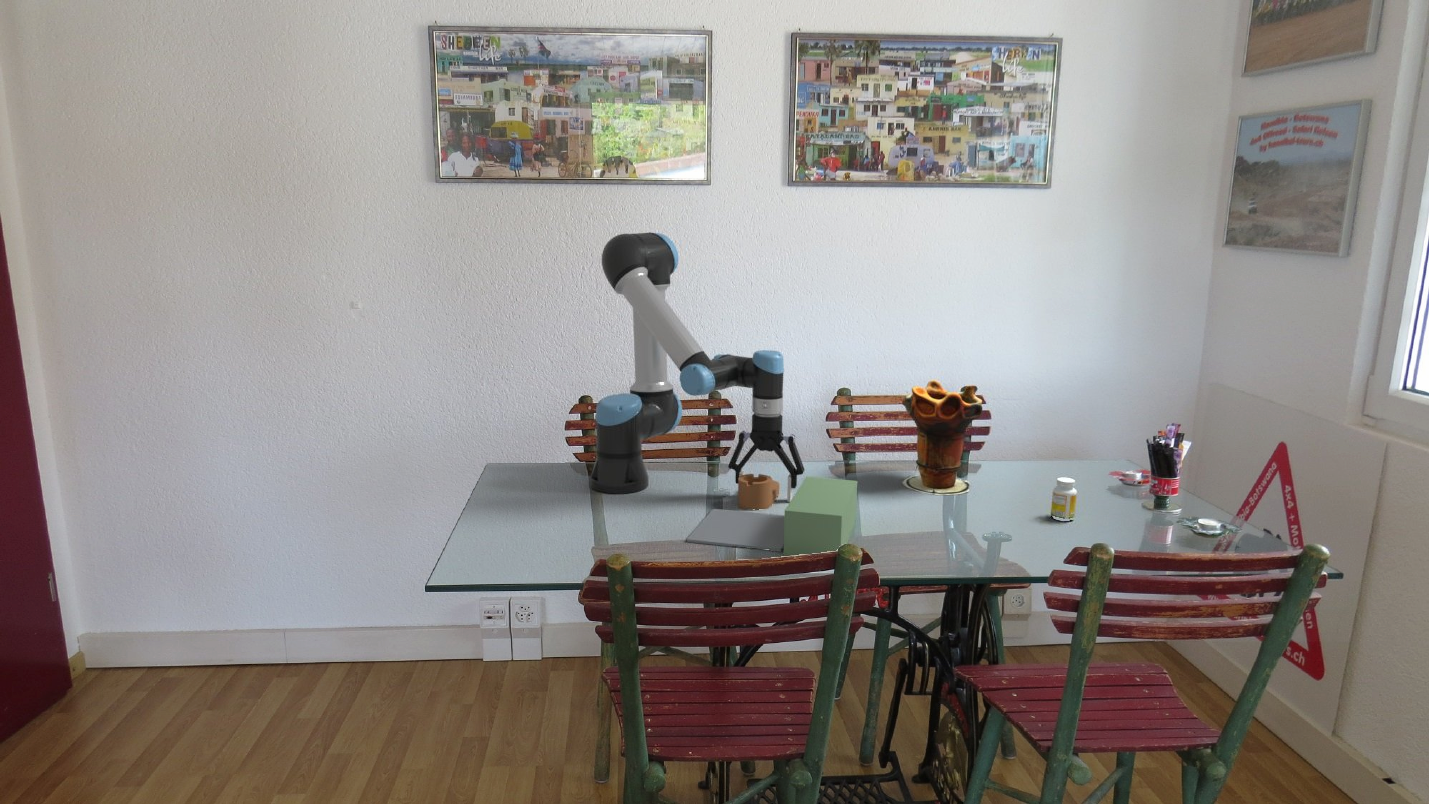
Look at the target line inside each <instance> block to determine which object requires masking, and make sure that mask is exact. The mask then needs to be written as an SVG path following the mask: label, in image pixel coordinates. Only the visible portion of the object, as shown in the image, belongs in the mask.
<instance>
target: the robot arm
mask: <svg viewBox="0 0 1429 804" xmlns="http://www.w3.org/2000/svg"><path fill="white" fill-rule="evenodd" d="M677 249H678V248H677V247H676V245H675V243H674V242H673V241H672V240H671V238H670V237H668V236H667V235H665V234H663V233H659V232H638V233H619V234H617V235H615V236H613V237H612V238H610V239H609V241H607V243H606V244H605V245H604V248H603V250H602V253H601V266H602V270H603V273H604V276H605V278H606V279H607V282H608V284H609V285H610V287H612V289H613V290H614V292H615V293H616V294H617V295H622V296H623V297H624V298H625V299H626V301H627V302H628V303H629V305H630V306H631V308H632V320H633V321H632V322H633V324H632V325H633V349H634V350H633V352H634V354H633V355H634V356H633V357H634V376H635V377H634V379H635V381H634V383H633V384H632V385H631V386H630V387H629V393H625V392H623V393H618V394H611V395H608V396H605V397H603V398H601V399H600V400H599V401H598V402H597V404H596V409H595V412H596V413H595V416H594V418H595V436H596V437H595V438H596V439H595V443H596V458H595V462H594V465H593V468H592V472H591V475H590V481H589V483H590V488H591V489H593V491H597V492H600V493H605V494H631V493H636V492H640V491H643V490H645V489H647V488H648V487H649V475H648V472H647V469H646V465H645V463H644V460H643V459H644V458H643V456H642V455H643V453H642V450H643V449H642V448H643V447H642V444H643V443H642V442H643V441H646V440H648V439H652V438H656V437H661V436H664V435H666V434H668V433H669V432H670V433H671V432H672V431H674V430H675V429H676V428H677V426H679V424H680V422H681V420H682V416H683V406H682V405H683V404H682V402H681V400H680V399H679V397H678V396H679V395H677V394H676V393H675V392H674V386H673V384H671V383H670V382H669V380H668V364H667V363H668V359H667V355H668V357H669V358H670V359H671V361H672V362H673V364H674V365H675V366H676V367H677V369H678V370H679V371H680V374H679V382H680V387H681V388H682V390H683V391H684V392H685V393H686V394H688V395H689V396H693V397H695V396H705V395H708V394H710V393H714V392H717V391H723V390H725V389H729V388H733V387H741V388H748V389H752V390H751V391H752V395H751V396H752V397H751V399H752V400H751V401H752V403H751V404H752V405H751V411H752V413H753V414H752V415H751V432H747V431H745V430H742V431H740V433H739V434H738V442H737V445H736V447H735V450H734V451H733V453H732V456H731V458H730V461H729V463H728V469H730V470H733V471H734V472H735V478H734V479H735V481H734V482H735V484H737V485H738V478H739V477H740V476H742V475H746V470H745V469H743V467H744V466H745V465H746V464H747V462H748V461H749V460H750V458H751V457H752V456H753V455H754V454H755V452H757V450H759V452H760V451H761V452H765V451H766V452H774V453H775V455H777V456H778V457H779V459H780V461H781V463H782V464H783V465H784V467H785V468H786V469H787V472H788V473H789V474H788V476H787V495H786V496H787V501H786V502H788V503H790V501H791V500H792V498H793V489H794V490H795V489H796V488H797V486H798V484H797V483H798V476H799V475H800V476H801V475H803V474H804V472H805V470H806V469H805V467H804V464H803V462H802V458H801V456H800V453H799V450H798V447H797V445H796V435H795V434H790V435H785V434H784V433H783V415H782V413H783V411H784V410H783V409H784V406H783V405H784V392H783V391H784V373H785V368H784V365H785V364H784V355H783V353H782V352H780V351H777V350H772V349H771V350H768V349H767V350H764V349H763V350H756V351H754V352H753V354H752V357H748V356H741V355H733V354H729V353H726V354H724V353H722V354H720V353H718V354H716V355H714V356H713V358H712V359H711V358H710V357H709V356H708V355H707V353H705V351H704V350H703V348H702V347H701V346H700V344H699V343H698V342H697V340H696V339H695V338H694V336H693V335H692V334H691V333H690V331H689V330H688V328H687V327H686V326H685V324H684V322H682V321H681V319H680V318H679V316H678V315H677V314H676V313H675V311H674V310H673V309H672V307H671V306H670V305H669V303H668V302H667V300H666V290H667V289H669V287H670V286H671V275H672V274H674V273H675V270H677V269H678V265H679V253H678V252H679V251H678V250H677ZM748 439H750V440H751V441H752V443H753V445H752V447H751V448H750V449H749V450H748V451H747V453H746V454H745V455H744V457H743V458H742V459H741V461H739V463H737V461H738V459H739V457H740V454H741V452H742V450H743V447H744V445H745V444H746V442H747V441H748ZM783 441H784V442H785V443H786V445H788V449H789V452H790V455H791V457H792V460H793V462H792V461H791V459H790V458H789V456H788V455H787V453H786V451H785V450H784V447H783V446H782V444H781V443H782V442H783ZM793 463H794V464H793Z"/></svg>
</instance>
